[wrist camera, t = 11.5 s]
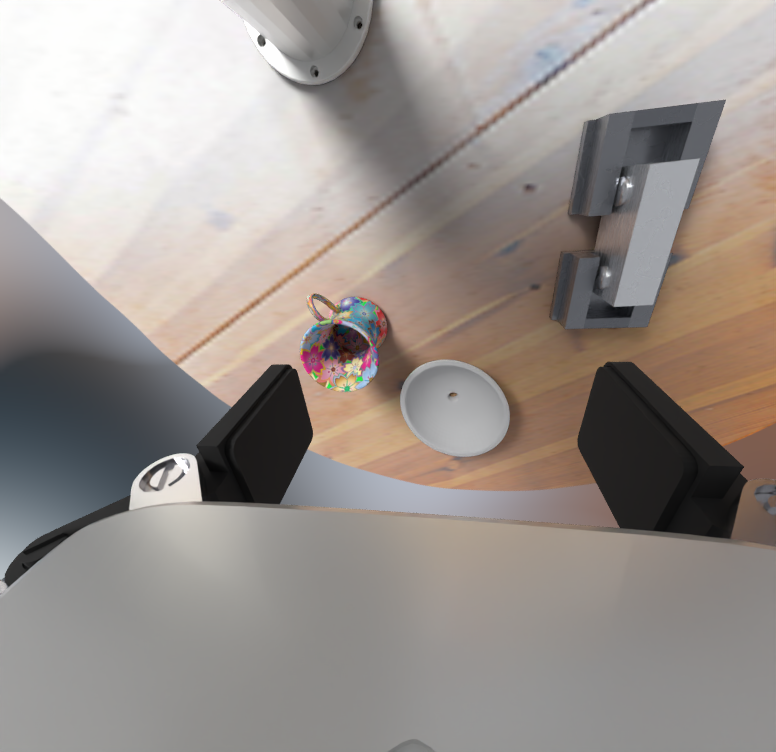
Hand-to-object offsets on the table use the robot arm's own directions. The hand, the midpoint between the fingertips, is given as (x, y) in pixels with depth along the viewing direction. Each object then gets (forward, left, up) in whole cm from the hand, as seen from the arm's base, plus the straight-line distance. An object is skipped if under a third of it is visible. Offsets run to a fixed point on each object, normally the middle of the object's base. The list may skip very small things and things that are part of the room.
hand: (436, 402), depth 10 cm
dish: (+22, +2, -34) cm, 40 cm away
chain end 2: (+6, +19, -33) cm, 39 cm away
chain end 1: (-6, +19, -33) cm, 39 cm away
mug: (+9, -12, -34) cm, 37 cm away
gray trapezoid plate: (0, +19, -32) cm, 37 cm away
